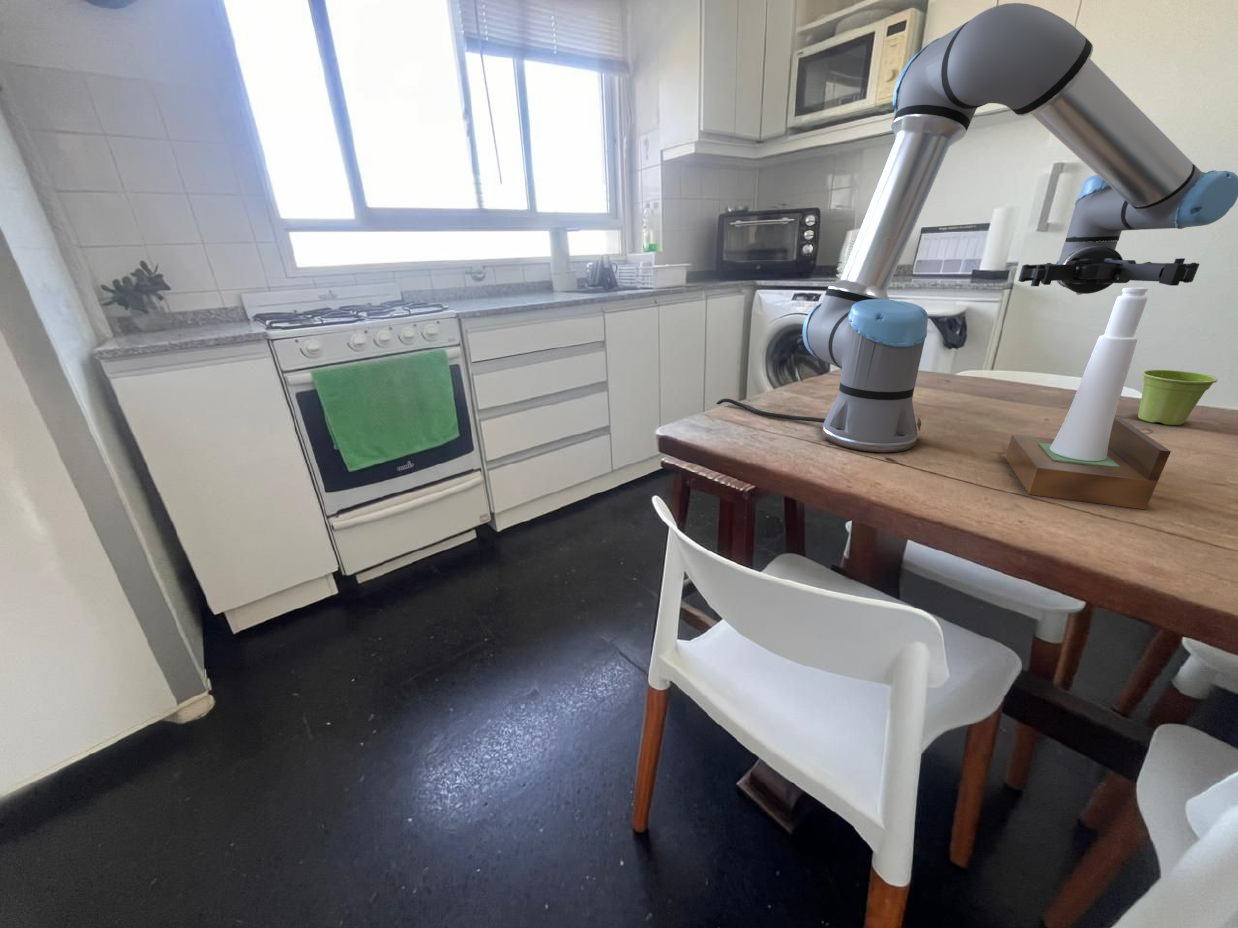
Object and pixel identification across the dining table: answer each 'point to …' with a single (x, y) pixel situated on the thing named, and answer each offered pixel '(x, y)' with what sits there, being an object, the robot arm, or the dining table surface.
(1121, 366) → the cosmetic bottle
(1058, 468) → the wooden block green inlay
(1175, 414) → the plant pot
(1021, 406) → the dining table surface
